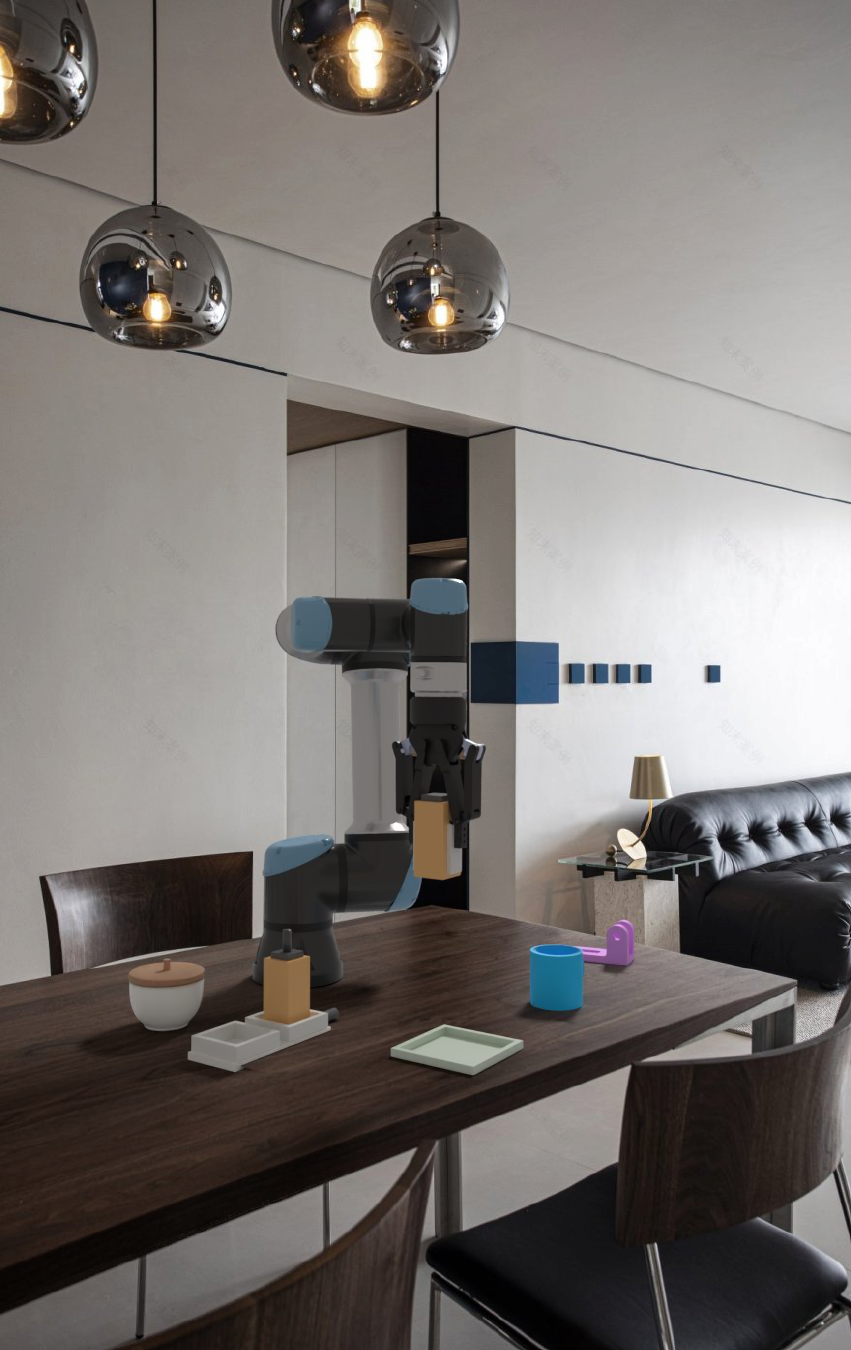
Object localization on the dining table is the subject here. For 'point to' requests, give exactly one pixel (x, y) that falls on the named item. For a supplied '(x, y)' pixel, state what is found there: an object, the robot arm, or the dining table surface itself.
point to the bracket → (614, 946)
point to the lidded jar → (166, 993)
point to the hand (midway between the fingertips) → (437, 870)
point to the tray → (457, 1049)
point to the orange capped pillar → (431, 836)
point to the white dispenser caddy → (267, 1016)
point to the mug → (556, 977)
